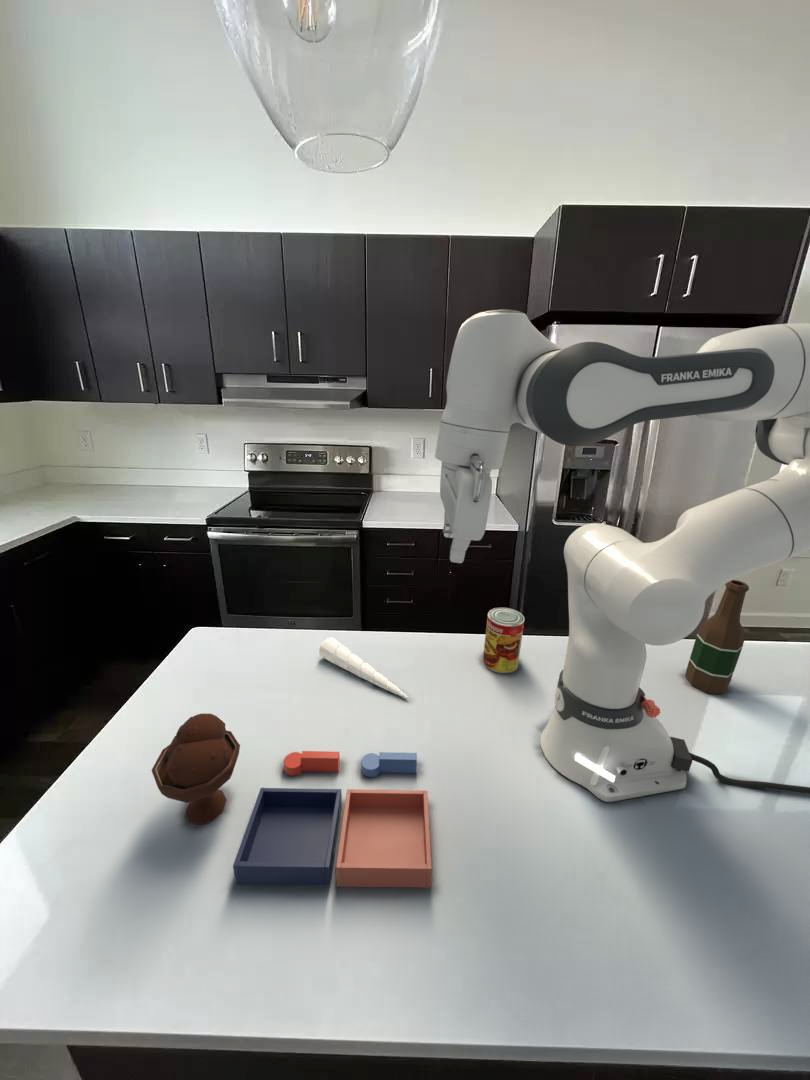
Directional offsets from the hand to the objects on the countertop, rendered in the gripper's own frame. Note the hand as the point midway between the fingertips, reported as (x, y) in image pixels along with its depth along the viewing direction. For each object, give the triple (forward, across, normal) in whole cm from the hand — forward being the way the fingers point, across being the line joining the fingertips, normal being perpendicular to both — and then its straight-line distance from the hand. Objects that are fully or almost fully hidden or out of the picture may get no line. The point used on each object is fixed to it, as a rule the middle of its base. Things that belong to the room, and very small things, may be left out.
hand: (451, 547), depth 60 cm
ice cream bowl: (+41, -11, +30) cm, 52 cm away
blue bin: (+40, -16, +17) cm, 46 cm away
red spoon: (+40, -4, +17) cm, 43 cm away
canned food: (+36, +25, -20) cm, 48 cm away
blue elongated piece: (+38, -4, +4) cm, 39 cm away
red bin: (+38, -16, +4) cm, 41 cm away
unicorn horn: (+39, +20, +11) cm, 45 cm away
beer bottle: (+31, +19, -63) cm, 73 cm away
